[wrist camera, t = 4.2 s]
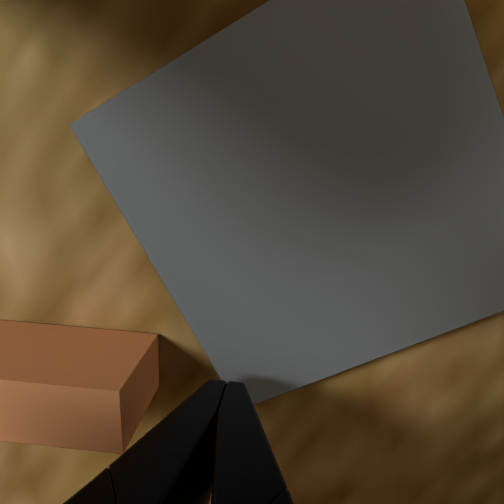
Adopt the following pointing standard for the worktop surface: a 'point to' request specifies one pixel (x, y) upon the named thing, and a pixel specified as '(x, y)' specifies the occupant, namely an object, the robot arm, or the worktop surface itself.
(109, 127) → the mat
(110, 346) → the hammer handle
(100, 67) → the worktop surface
